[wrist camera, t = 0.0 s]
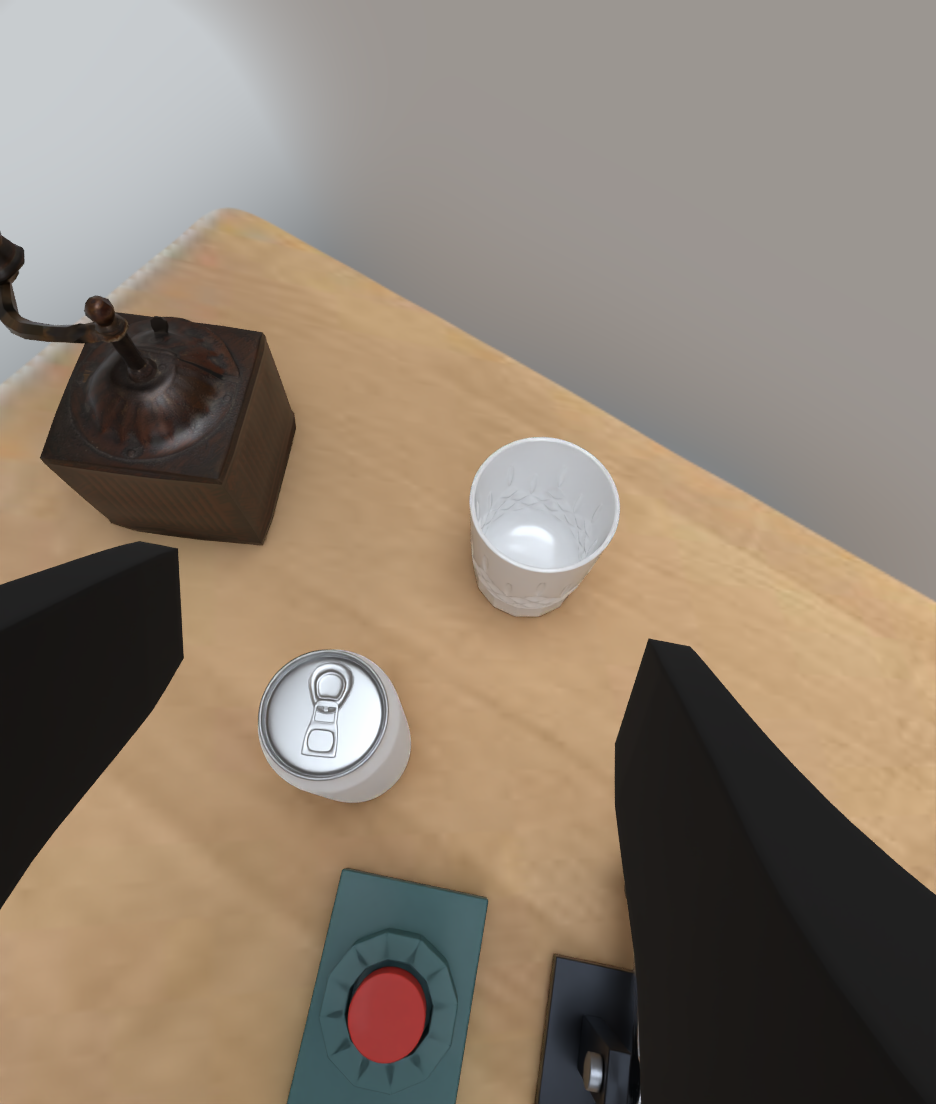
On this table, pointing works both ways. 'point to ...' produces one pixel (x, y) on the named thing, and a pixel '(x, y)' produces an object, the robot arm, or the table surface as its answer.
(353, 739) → the can
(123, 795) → the table surface
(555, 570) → the white cup
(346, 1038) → the button block
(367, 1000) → the button
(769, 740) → the robot arm
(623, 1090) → the bracket
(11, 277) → the brown coffee grinder
